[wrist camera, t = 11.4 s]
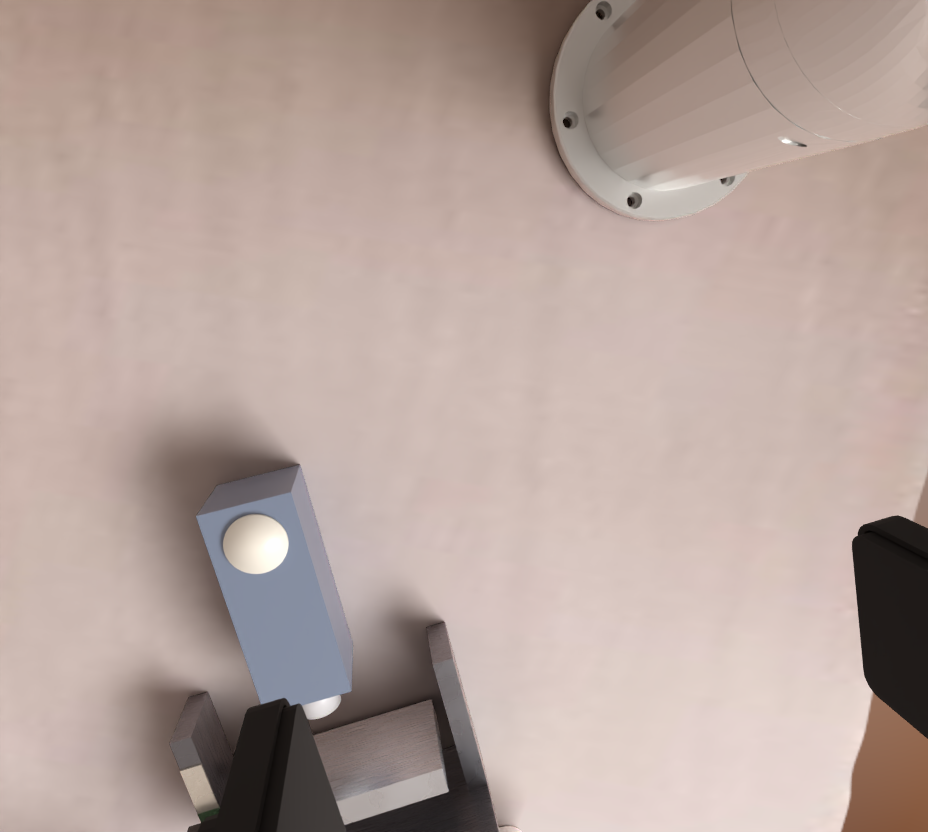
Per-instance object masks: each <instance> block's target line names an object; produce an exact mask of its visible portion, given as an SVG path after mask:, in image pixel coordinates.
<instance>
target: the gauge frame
mask: <svg viewBox="0 0 928 832" xmlns="http://www.w3.org/2000/svg"><path fill="white" fill-rule="evenodd" d="M426 628H427V634H428V640H429V647H430V653H431V659H432V665H433V668H434V672H435V675H436V679H437V682H438V686H439V689H440V693H441V696H442V700H443V703H444V707H445V710H446V714H447V717H448V721H449V724H450V727H451V731H452V734H453V738H454V741H455V745H456V746H452V747H449V748H446V749H443V750H442V752H443V758H444V765H445V771H446V777H447V784H448V790H449V792H447V793H444V794H441V795H437V796H434V797H431V798H428V799H425V800H422V801H418V802H415V803H412V804H409V805H406V806H403V807H400V808H396V809H393V810H390V811H387V812H384V813H381V814H378V815H374V816H371V817H368V818H365V819H362V820H359V821H356V822H352V823H349V824H346V825H345V828H346V831H347V832H499V827H498V823H497V819H496V815H495V810H494V806H493V802H492V798H491V793H490V789H489V785H488V781H487V776H486V772H485V768H484V764H483V759H482V755H481V752H480V748H479V744H478V741H477V737H476V734H475V730H474V726H473V723H472V719H471V715H470V712H469V708H468V705H467V701H466V697H465V694H464V690H463V686H462V683H461V679H460V676H459V672H458V668H457V665H456V661H455V657H454V654H453V650H452V646H451V643H450V639H449V636H448V632H447V628H446V625H445V622H443V623H440V624H436V625H433V626H429V627H426ZM169 744H170V747H171V749H172V752H173V754H174V756H175V759H176V761H177V764H178V766H179V768H180V773H181V776H182V778H183V780H184V783H185V785H186V788H187V790H188V792H189V795H190V797H191V799H192V802H193V804H194V807H195V809H196V811H197V814H198V816H199V819H200V821H201V823H202V822H203V821H204V820H205V818H206V817H209V816H213V815H216V814H218V813H219V809H220V806H221V802H222V798H223V795H224V791H225V787H226V784H227V780H228V776H229V773H230V769H231V765H232V762H233V758H234V757H233V755H232V752H231V749H230V747H229V744H228V742H227V739H226V737H225V734H224V732H223V729H222V727H221V724H220V721H219V719H218V716H217V714H216V711H215V709H214V706H213V704H212V701H211V698H210V696H209V693H208V692H206V693H202V694H199V695H196V696H192V697H189V698H188V700H187V702H186V704H185V707H184V709H183V712H182V714H181V717H180V719H179V721H178V724H177V726H176V729H175V731H174V733H173V736H172V738H171V741H170V743H169Z"/></svg>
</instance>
